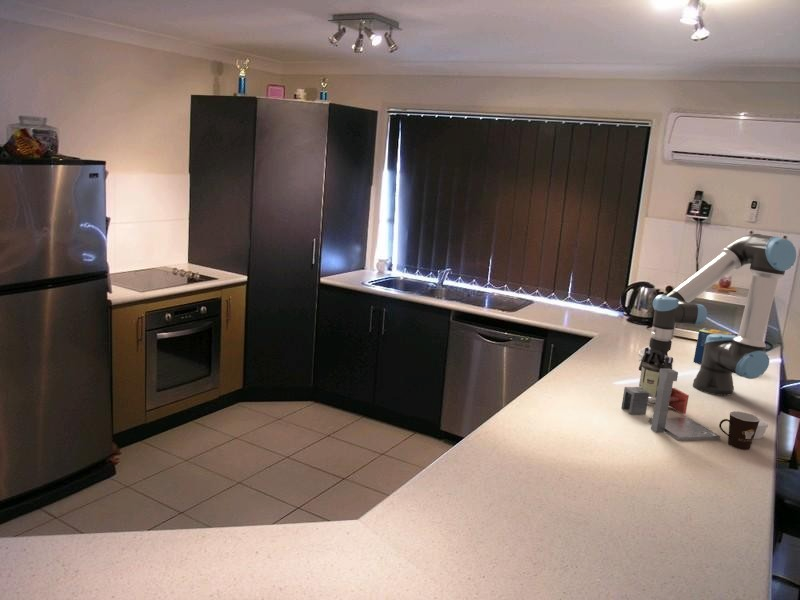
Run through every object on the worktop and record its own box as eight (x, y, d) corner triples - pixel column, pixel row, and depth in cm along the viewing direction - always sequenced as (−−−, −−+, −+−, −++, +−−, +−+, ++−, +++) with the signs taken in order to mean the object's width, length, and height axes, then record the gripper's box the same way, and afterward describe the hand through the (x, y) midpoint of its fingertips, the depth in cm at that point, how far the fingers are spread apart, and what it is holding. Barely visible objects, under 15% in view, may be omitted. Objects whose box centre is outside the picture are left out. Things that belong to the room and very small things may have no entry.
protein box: (697, 358, 320) (703, 327, 317) (732, 365, 311) (738, 334, 308) (692, 362, 312) (698, 330, 309) (728, 370, 303) (734, 337, 300)
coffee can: (662, 398, 254) (668, 363, 251) (667, 408, 244) (673, 371, 241) (634, 394, 256) (640, 359, 253) (638, 403, 246) (644, 367, 243)
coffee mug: (751, 443, 216) (757, 414, 214) (756, 453, 208) (762, 423, 206) (712, 436, 220) (718, 407, 218) (715, 445, 212) (721, 416, 210)
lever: (671, 405, 245) (674, 387, 244) (685, 413, 238) (688, 395, 236) (626, 406, 240) (628, 387, 239) (638, 414, 233) (641, 395, 231)
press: (666, 408, 244) (676, 353, 239) (720, 439, 217) (731, 378, 213) (620, 408, 239) (628, 352, 235) (668, 440, 212) (679, 378, 208)
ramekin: (764, 432, 227) (767, 418, 226) (766, 443, 217) (769, 428, 216) (728, 425, 232) (730, 410, 231) (728, 435, 222) (731, 420, 221)
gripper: (634, 330, 255) (625, 385, 259) (671, 346, 233) (661, 406, 238) (651, 330, 257) (642, 385, 261) (690, 347, 235) (679, 406, 239)
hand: (651, 395), depth 249 cm, fingers closed on coffee can, 10 cm apart
